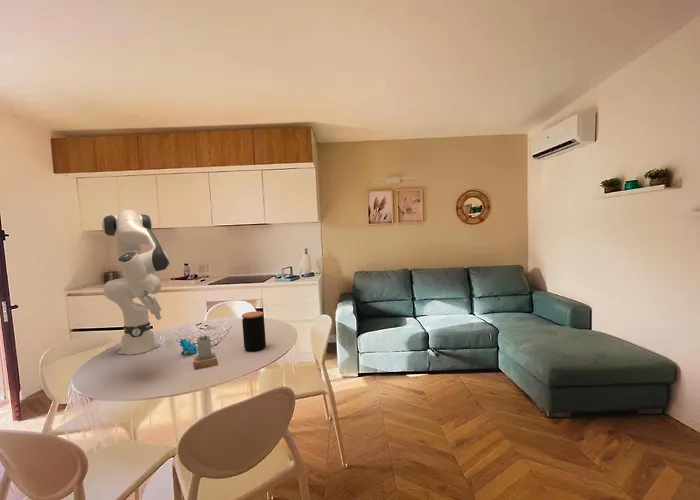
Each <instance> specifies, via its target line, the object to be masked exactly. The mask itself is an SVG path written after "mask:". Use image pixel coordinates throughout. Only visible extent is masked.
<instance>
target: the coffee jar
mask: <svg viewBox="0 0 700 500" xmlns="http://www.w3.org/2000/svg"><path fill="white" fill-rule="evenodd" d="M264 314H265V313H264V311H260V310H259V311H257V310H255V311H248V312H245V313H242V315H241V317H242V320H241V324H242V335H243V337H242V338H243V346H244V347H243V348H244V350H245V351H246V352H249V353H254V352H260V351H263V350H264V349H265V348H266V345H267V342H266V328H265V327H266V326H265V316H264Z"/></svg>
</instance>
